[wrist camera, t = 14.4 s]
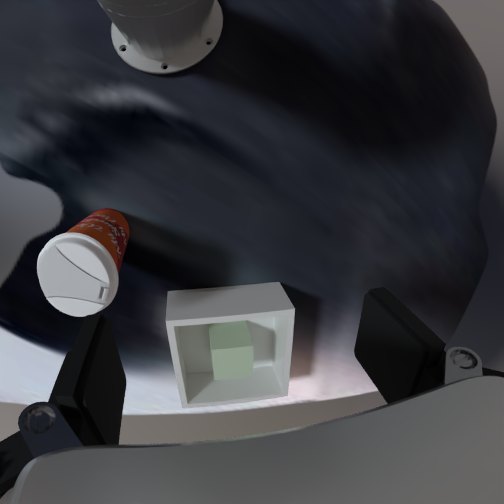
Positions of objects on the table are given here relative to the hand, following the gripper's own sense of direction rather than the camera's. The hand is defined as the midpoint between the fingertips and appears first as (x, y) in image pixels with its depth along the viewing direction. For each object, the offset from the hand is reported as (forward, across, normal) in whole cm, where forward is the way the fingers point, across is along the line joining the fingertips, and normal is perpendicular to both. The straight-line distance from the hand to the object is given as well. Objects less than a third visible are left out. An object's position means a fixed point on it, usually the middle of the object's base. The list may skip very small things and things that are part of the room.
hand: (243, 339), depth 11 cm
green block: (+28, -2, +20) cm, 34 cm away
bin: (+28, -2, +20) cm, 35 cm away
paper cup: (+28, +12, +4) cm, 31 cm away
